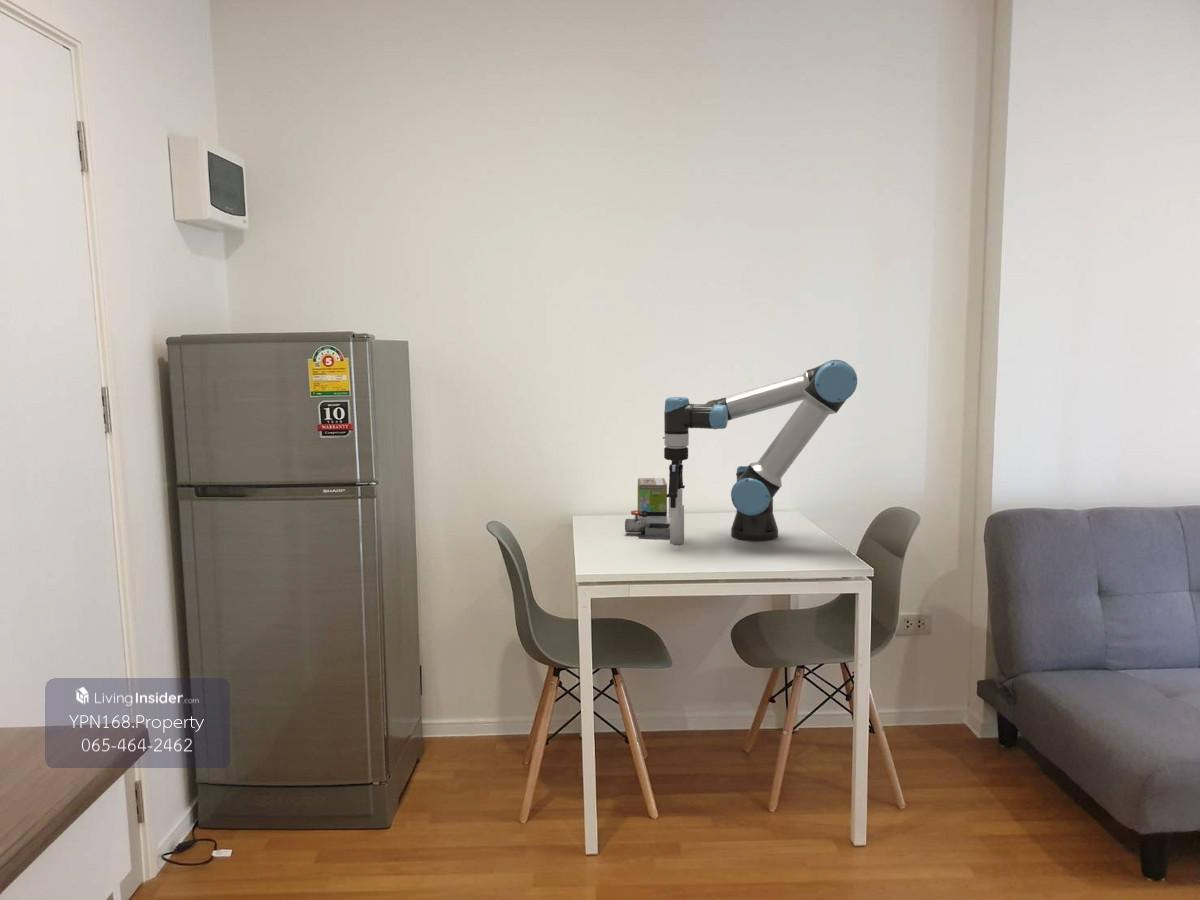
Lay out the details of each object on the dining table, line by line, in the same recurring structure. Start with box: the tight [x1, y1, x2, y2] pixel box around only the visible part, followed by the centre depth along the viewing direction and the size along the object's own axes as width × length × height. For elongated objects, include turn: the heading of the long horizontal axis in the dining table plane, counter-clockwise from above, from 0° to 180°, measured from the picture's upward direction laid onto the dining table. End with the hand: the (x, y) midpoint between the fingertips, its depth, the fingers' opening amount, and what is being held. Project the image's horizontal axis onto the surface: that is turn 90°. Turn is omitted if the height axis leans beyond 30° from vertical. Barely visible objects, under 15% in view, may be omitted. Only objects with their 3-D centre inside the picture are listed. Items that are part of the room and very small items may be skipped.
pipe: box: [669, 504, 685, 545], centre depth 271 cm, size 4×4×12 cm
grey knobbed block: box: [624, 509, 670, 541], centre depth 282 cm, size 17×12×8 cm
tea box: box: [637, 477, 668, 524], centre depth 302 cm, size 15×10×15 cm
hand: (675, 513), depth 270 cm, fingers open, 13 cm apart
